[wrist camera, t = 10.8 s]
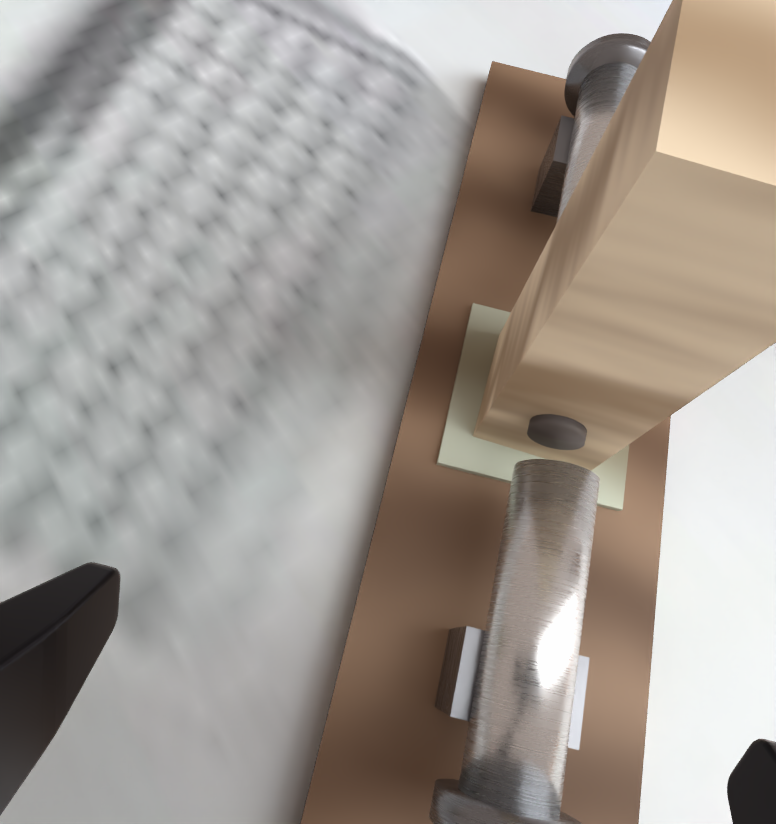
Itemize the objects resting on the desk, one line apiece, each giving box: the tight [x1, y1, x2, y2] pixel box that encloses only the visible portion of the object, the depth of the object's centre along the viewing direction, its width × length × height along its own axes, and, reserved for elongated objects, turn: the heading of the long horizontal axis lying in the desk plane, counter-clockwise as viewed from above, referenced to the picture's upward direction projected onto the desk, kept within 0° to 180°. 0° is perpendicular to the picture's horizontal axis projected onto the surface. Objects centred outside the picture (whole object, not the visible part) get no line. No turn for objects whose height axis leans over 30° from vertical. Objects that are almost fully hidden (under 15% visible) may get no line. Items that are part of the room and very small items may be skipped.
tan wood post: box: [473, 0, 776, 471], centre depth 17 cm, size 5×4×14 cm
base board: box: [300, 61, 671, 824], centre depth 24 cm, size 34×10×2 cm, turn 165°
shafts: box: [429, 33, 651, 824], centre depth 21 cm, size 28×4×5 cm, turn 165°
